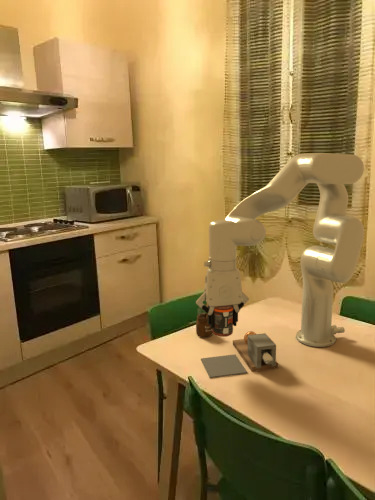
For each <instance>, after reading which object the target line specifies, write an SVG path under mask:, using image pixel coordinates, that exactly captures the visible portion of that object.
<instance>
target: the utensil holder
mask: <svg viewBox="0 0 375 500" xmlns="http://www.w3.org/2000/svg"><path fill="white" fill-rule="evenodd" d="M205 305H206V306H207V305H208V304H207V302H206V303H205ZM202 311H203V312H202ZM195 333H196V335H197V336H198V337H199V338H210V337H212V336H213V335H214V334H213V332H212V328H211V327H210V325H208V323H207V313H206V312H205V311H204V310H203V309H202V308H201V307H198V310H197V315H196V322H195Z"/></svg>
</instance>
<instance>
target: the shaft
mask: <svg viewBox="0 0 375 500" xmlns="http://www.w3.org/2000/svg"><path fill="white" fill-rule="evenodd" d="M255 334H257V333H256V332H255V331H252V330H251V331H248V332H246V333H245V334H244V336H243V339H244V341H245V343H246V344H247V345H248V335H255ZM261 358H262V359H263V360H264V362H265V363H266V364H267V365H270V364H272V363H273V358H272V357H271V355H270V354H269V353H268V352H267V351H266V350H261Z"/></svg>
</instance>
